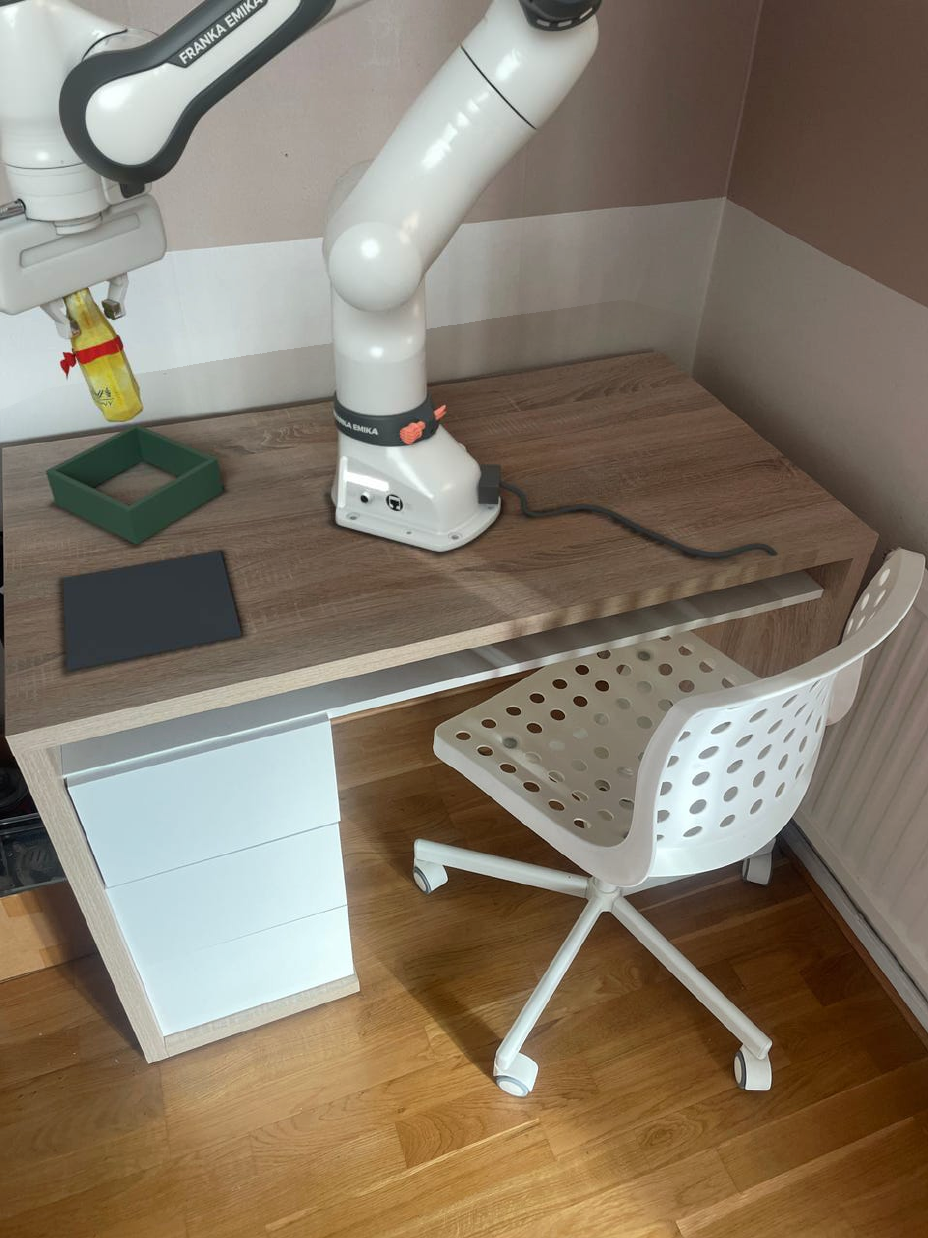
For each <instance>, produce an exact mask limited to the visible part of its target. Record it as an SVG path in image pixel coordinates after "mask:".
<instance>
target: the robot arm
mask: <svg viewBox="0 0 928 1238" xmlns="http://www.w3.org/2000/svg"><path fill="white" fill-rule="evenodd" d="M372 1H373V0H201V1H200V2H199V3H198V4H196V5H195V6H194V7H193V8H191V9H190V10H189V11H188V12H186V13H185V14H184V15H182V16H181V17H180V18H179V19H178V20H177V21H175V22H173V24H172V25H170V26H169V27H168V28H166V29H165V30H164V31H162V32H161V33H160V34H158V33H156V32H154V31H151V30H148V29H146V28H140V27H136V26H133V25H129V24H125V23H121V22H118V21H115V20H113V19H109V18H107V17H105V16H101V15H99V14H97V13H95V12H93V11H91V10H88V9H86V8H84V7H82V6H81V5H79V4H77V3H75V2H73V1H72V0H0V159H1V163H2V167H3V170H4V174H5V177H6V181H7V185H8V188H9V192H10V195H11V199H12V201H9V202H6V203H3V204H1V205H0V313H3V314H5V315H9V316H17V315H20V314H21V313H24V312H27V311H30V310H32V309H34V308H37V307H39V308H40V309H41V310H42V311H43V312H44V313H45V314H46V315H47V316H48V317H50V319H52V321H54V325H55V328H56V331H57V334H58V336H59V337H60V338H62V339H65V340H67V341H68V340H70V339H71V338H73V337H75V336H77V335H80V330H79V329H78V326H79V325H78V323H77V321H76V320H75V319H74V318H70V317H69V316H67V315H66V314H65V313H64V312H63V311H62V310H61V309H62V308H64V307H65V304H64V301H63V299H62V297H64V296H67V295H69V294H72V293H75V292H77V291H80V290H82V289H85V288H91V287H93V286H96V285H99V284H101V283H104V282H108V283H109V285H108V289H107V290H108V291H107V296H106V299H103V300H101V301H100V302H101V303H100V304H101V307H102V308H103V314H104V316H105V317H106V318H107V320H111V321H116V320H118V319H121V318H123V317H125V316H127V312H126V307H125V303H124V301H125V298H126V295H127V291H128V286H129V283H130V281H129V276H128V273H130V272H133V271H135V270H137V269H138V270H139V269H140V268H143V267H146V266H148V265H151V264H153V263H156V262H159V261H161V260H163V259H164V257H165V254H166V252H167V249H168V241H167V234H166V230H165V225H164V221H163V217H162V212H161V210H160V206H159V204H158V202H157V200H156V198H155V197H154V196H153V195H152V194H151V193H150V192H151V191H152V190H153V189H152V188H153V182H154V183H155V182H156V181H158V180H160V179H162V178H164V177H165V176H166V175H168V174H169V173H170V172H171V171H172V170H173V169H174V168H175V166H176V165H177V164H178V162H179V160H180V159H181V157H182V155H183V153H184V152H185V150H186V147H187V145H188V143H189V141H190V138H191V137H192V133H193V132H194V130H195V128H196V126H197V125H198V123H199V122H200V121H201V119H202V118H203V117H204V116H205V115H206V114H207V113H208V112H209V111H210V110H211V109H212V108H213V107H214V106H216V105H217V104H218V103H219V102H220V101H222V100H223V99H224V98H225V97H227V96H228V95H229V94H231V92H233V91H234V90H235V89H236V88H238V87H239V86H240V85H242V84H243V83H244V82H245V81H247V80H248V79H250V78H251V76H253V75H254V74H255V73H257V72H258V71H260V69H262V68H263V67H264V66H265V65H267V63H269V62H271V61H272V60H274V58H276V57H277V56H278V55H280V54H281V53H282V52H283V51H284V50H286V49H287V48H289V47H290V46H291V45H293V44H295V43H296V42H297V41H299V40H301V39H303V38H304V37H307V36H308V35H310V34H311V33H314V32H315V31H317V30H319V29H321V28H323V27H325V26H327V25H328V24H331V23H332V22H334V21H337V20H338V19H340V18H341V17H344V16H346V15H348V14H350V13H352V12H355V11H356V10H357V9H360V8H362V7H363V6H365V5H366V4H368V3H370V2H372ZM602 2H603V0H492V1H491V3H490V5H489V7H488V9H487V10H486V12H485V14H484V17H483V18H482V19H481V20H480V21H479V22H478V23H477V24H476V25H475V26H474V28H472V29H471V31H470V32H469V34H467V35H466V37H465V38H464V39H463V41H462V42H461V43H460V44H459V45H458V46H457V47H456V49H455V50H454V51H453V52H452V53H451V55H450V56H449V57H448V59H447V60H446V61H445V62H444V63H443V65H441V66H440V68H439V69H438V70H437V72H436V73H435V74H434V76H433V77H431V79H430V80H429V81H428V83H427V84H426V85H425V87H423V88H422V90H421V91H420V93H419V94H418V95H417V96H416V97H415V98H414V100H413V101H412V103H411V104H409V106H408V107H407V108H406V110H405V112H404V113H403V115H402V117H401V119H400V121H399V122H398V124H397V125H396V127H395V129H394V130H393V131H392V133H391V134H390V136H389V137H388V139H387V141H386V142H385V143H384V145H383V147H382V148H381V150H380V151H379V153H378V154H377V155H376V157H375V158H370V159H369V158H368V159H363V160H359V161H358V162H356V163H354V164H352V165H351V166H350V167H349V168H347V169H345V171H343V172H342V173H341V174H340V176H339V177H338V178H337V179H336V180H335V182H334V183H333V185H332V187H331V188H330V190H329V194H328V197H327V202H326V211H325V215H324V216H325V217H324V226H323V236H322V242H321V256H322V261H323V266H324V269H325V272H326V274H327V276H328V279H329V286H330V287H329V288H330V289H329V290H330V314H331V342H332V356H333V366H334V367H333V368H334V369H333V370H334V382H335V390H334V393H333V398H332V400H333V409H332V412H333V419H334V420H333V421H334V425H335V427H336V428H337V453H336V454H337V455H336V467H335V473H334V477H333V483H332V486H331V490H330V497H331V500H332V503H333V505H334V506H335V516H334V517H335V523H336V524H337V525H339V526H341V527H344V528H347V529H352V530H354V531H359V532H362V533H366V534H371V535H374V536H377V537H381V538H385V539H389V540H392V541H396V542H400V543H404V544H407V545H410V546H414V547H418V548H421V549H425V550H429V551H433V552H439V553H444V552H447V551H452V550H454V549H457V548H460V547H462V546H464V545H466V544H468V543H469V542H472V541H473V540H474V539H476V538H477V537H479V536H480V535H481V534H482V533H484V532H485V531H486V530H487V529H488V528H489V527H490V526H491V525H492V524H493V523H494V522H495V521H496V519H498V516H499V515H500V512H501V509H502V502H501V497H500V488H502V489H504V490H507V491H509V492H511V493H513V494H515V495H517V496H518V498H519V499H520V509H521V511H522V513H524V515H526V516H528V517H531V518H539V517H544V516H550V515H559V514H565V513H571V512H574V511H582V510H583V511H584V510H585V511H593V512H596V513H601V514H604V515H606V516H609V517H611V518H613V519H615V520H617V521H618V522H620V523H622V524H624V525H625V526H627V527H629V528H631V529H633V530H635V531H637V532H639V533H642V534H644V535H646V536H648V537H650V538H653V539H656V540H658V541H659V542H661V543H664V544H666V545H668V546H670V547H672V548H674V549H677V550H679V551H681V552H684V553H687V554H690V555H692V556H693V555H694V556H696V557H702V558H708V559H722V558H728V557H731V556H735V555H739V554H741V553H744V552H748V551H752V550H753V551H754V550H761V551H765V552H766V553H768V554H769V555H771V556H774V557H775V556H778V555H779V554H778V552H777V551H776V550H775V549H774V548H773V547H772V546H770V545H768V544H765V543H759V542H757V543H749V544H745V545H742V546H739V547H735V548H733V549H729V550H725V551H716V552H715V551H706V550H700V549H696V548H692V547H689V546H687V545H684V544H681V543H679V542H677V541H675V540H672V539H671V538H668V537H667V536H664V535H662V534H660V533H658V532H656V531H654V530H651V529H648V528H646V527H644V526H642V525H639V524H638V523H636V522H634V521H632V520H630V519H629V518H626V517H625V516H623V515H621V514H620V513H618V512H615V511H613V510H610V509H609V508H605V507H603V506H599V505H594V504H590V503H589V504H587V503H579V504H572V505H568V506H565V507H561V508H558V509H555V510H552V511H547V512H536V511H533V510H531V509H529V508H528V506H527V505H528V504H527V503H528V502H527V496H526V495H525V493H524V492H523V491H522V490H521V489H520V488H518V487H516V486H515V485H511V484H509V483H507V482H504V481H502V480H501V464H485V463H484V464H483V463H482V464H480V465H479V463H478V461H477V460H476V459H475V458H474V457H473V456H472V455H471V454H470V453H469V452H468V451H467V449H466V446H465V445H464V444H462V443H461V442H458V441H457V440H456V439H455V438H454V436H452V435H451V433H449V432H448V430H447V429H445V427H444V426H442V424H441V422H440V418H442V417H444V415H445V414H446V413H447V411H445V410H446V408H447V407H446V405H445V404H444V405H441V406H440V407H439V408H437V409H436V405H435V403H434V400H433V396H432V395H431V392H430V390H429V388H428V359H427V358H428V357H427V356H428V355H427V354H428V351H427V349H428V345H427V341H428V340H427V335H428V334H427V308H426V307H427V306H426V303H427V302H426V301H427V300H426V274H427V273H428V271H429V270H430V268H432V266H433V264H434V263H435V262H436V261H437V259H438V258H439V256H440V255H441V254H442V253H443V251H444V250H445V248H446V247H447V246H448V244H450V241H451V240H452V238H453V237H454V236H455V234H456V233H457V232H458V230H459V229H460V227H461V226H462V224H463V222H464V221H465V219H466V218H467V217H468V215H469V214H470V212H471V211H472V209H473V208H474V206H475V205H476V203H477V202H478V200H479V199H480V198H481V196H482V195H483V194H484V193H485V191H486V190H487V189H488V188H489V186H491V184H492V183H493V182H494V180H495V179H496V178H497V177H498V176H499V175H500V174H501V173H502V171H504V169H505V168H506V167H507V166H508V165H509V164H510V163H511V161H512V160H513V159H514V158H515V157H516V156H517V155H518V154H519V152H521V150H522V149H523V148H524V147H525V146H526V145H527V143H528V142H529V141H531V139H532V138H533V137H534V136H535V135H536V134H537V132H538V131H539V130H541V128H542V127H543V126H544V125H545V123H546V122H547V121H548V120H550V118H551V116H552V115H553V114H554V113H555V112H556V110H557V109H558V108H559V107H560V105H561V104H562V103H563V101H564V100H565V99H566V98H567V96H568V94H569V93H570V92H571V90H572V89H573V88H574V86H575V85H576V83H577V82H578V81H579V79H580V77H581V76H582V74H583V73H584V71H585V70H586V68H587V66H588V64H589V63H590V61H591V59H592V58H593V56H594V54H595V52H596V50H597V47H598V44H599V37H600V32H599V31H600V30H599V26H598V25H599V24H598V20H597V16H596V13H597V12H598V11H599V9H600V7H601V5H602Z"/></svg>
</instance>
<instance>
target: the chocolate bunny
mask: <svg viewBox="0 0 928 1238" xmlns="http://www.w3.org/2000/svg"><path fill="white" fill-rule="evenodd" d="M62 300H63V304H64V307H65V315H67V316H69V317H70V318H74V319H75V320H76V321H77V323H78V325H79V326H78V329H79V330H80V335H77V336H75V337H73V338H71V339H69V341H70V345H71V352H70V351H68V352H65V351H62V355H63V358H64V359H61V360H60V361H59V365H60V368H61V369H62V371H63V372H64V373H65V377H66V380H68V378H69V373H70V370H71V369H70V368H75V366H76V365H77V364H78V366H79V368H80V371H81V374H82V375H83V378H84V381H85V382H86V384H87V387H88V390H89V393H90V395H91V398H92V401H93V403H94V404H95V405H96V407H97V408H98V409H99V410H100V412H101V413H102V415H103V418H104V419H105V420H106V421H107V422H109V423H125V422H128V421H130V420H133V419H134V418H135V417H138V415H139V414H142V412H143V410H144V405H143V401H142V399H141V389H140V385H139V384H138V382H137V379H136V377H135V375H134V373H133V370H132V368H131V364H130V362H129V359H128V358H127V355H126V352H125V349H124V343H123V341H122V338H121V336H120V335H119V334H117V332H116V330H115V328H114V326H113V325H112V323H110V321H109V319H108V318H107V317H106V316H105V315H104V312H103V311H102V309H101V308H100V306H99V305H98V304H97V303H96V302H95V300H94V297H93V295H92V293H91V291H90V287H88V288H85V289H82V290H80V291H77V292H75V293H72V294H69V295H67V296H64V297H62Z"/></svg>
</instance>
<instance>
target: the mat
mask: <svg viewBox="0 0 928 1238" xmlns="http://www.w3.org/2000/svg"><path fill="white" fill-rule="evenodd" d="M62 581H63V583H62V585H63V607H64V626H65V627H64V629H65V630H64V631H65V651H66V652H65V653H66V670H67V671H68V672H71V671H77V670H80V669H86V668H91V667H97V666H101V665H105V664H111V663H116V662H121V661H125V660H130V659H131V660H132V659H135V658H141V657H145V656H151V655H156V654H160V653H161V654H162V653H165V652H172V651H176V650H181V649H187V648H191V647H196V646H201V645H205V644H206V645H207V644H211V643H216V642H220V641H221V642H222V641H226V640H231V639H235V638H236V639H237V638H241V637H243V635H242V631H241V626H240V621H239V618H238V614H237V610H236V606H235V603H234V602H235V601H234V598H233V594H232V590H231V586H230V582H229V578H228V574H227V569H226V566H225V563H224V558H223V554H222V551H221V550H220V549H219V550H214V551H208V552H204V553H203V552H202V553H198V554H192V555H187V556H181V557H175V558H170V559H169V558H168V559H164V560H157V561H153V562H148V563H141V564H135V565H129V566H124V567H119V568H113V569H108V570H102V571H96V572H90V573H85V574H79V575H73V576H67V577H63V578H62Z"/></svg>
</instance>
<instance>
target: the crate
mask: <svg viewBox="0 0 928 1238" xmlns="http://www.w3.org/2000/svg"><path fill="white" fill-rule="evenodd" d="M142 461H144V462H146V463H149V464H150V465H153V466H156V467H158V468H160V469H162V470H164V471H166V472H169V473H171V474H173V475H176V476H178V477H176V478H174V479H172V480H171V481H169V482H168V483H166V484H164V485H162V486H160V487H159V488H156V489H155V490H154V491H151V492H150V493H148V494H147V495H145V496H143V497H141V498H140V499H138V500H136V501H134V502H133V503H131V504H129V505H128V504H126V503H124V502H123V501H120V500H118V499H116V498H114V497H111V496H110V495H108V494H105V493H104V492H101V491H100V490H96V489H95V487H97V486H99V485H101V484H102V483H104V482H106V481H108V480H110V479H111V478H113V477H116V476H117V475H119V474H121V473H122V472H124V471H126V470H128V469H130V468H132V467H133V466H135V465H137V464H139V463H140V462H142ZM220 470H221V469H220V464H219V458H217V457H216V456H213V455H210V454H208V453H205V452H203V451H201V450H198V449H196V448H194V447H191V446H189V445H186V444H184V443H182V442H180V441H178V440H175V439H173V438H171V437H168V436H166V435H163V434H161V433H159V432H156V431H154V430H151V429H149V428H146V427H145V426H142V425H140V424H137V423H136V424H134V425H132V426H130V427H128V428H126V429H124V430H122V431H120V432H119V433H116V434H114V435H113V436H111V437H108V438H106V439H105V440H102V441H100V442H99V443H96V444H95V445H93V446H91V447H89V448H87V449H85V450H83V451H81V452H79V453H77V454H76V455H74V456H71V457H70V458H68V459H65V460H64V461H61V462H60V463H58V464H56V465H54V466H52V467H51V468H48V469H47V470H46V469H45V473H46V477H47V480H48V483H49V486H50V489H51V493H52V496H53V499H54V503H55V505H57V506H59V507H61V508H63V509H64V510H66V511H68V512H71V513H72V514H75V515H77V516H78V517H80V518H83V519H84V520H86V521H88V522H90V523H92V524H94V525H96V526H98V527H100V528H102V529H104V530H106V531H109V532H110V533H112V534H114V535H116V536H118V537H121V538H122V539H124V540H126V541H128V542H130V543H133V544H134V545H139V544H140V543H142V542H144V541H146V540H147V539H148V538H150V537H153V535H155V534H156V533H159V532H160V531H162V530H163V529H165V528H166V527H167V526H169V525H171V524H173V523H174V522H176V521H178V520H179V519H181V518H183V517H184V516H186V515H187V514H188V515H189V514H190V512H192V511H194V510H196V509H198V508H199V507H201V506H202V505H204V504H206V503H207V502H209V501H211V500H212V499H213V498H215V497H217V496H218V495H220V494H222V493H223V492H224V488H223V482H222V477H221V471H220Z"/></svg>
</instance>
